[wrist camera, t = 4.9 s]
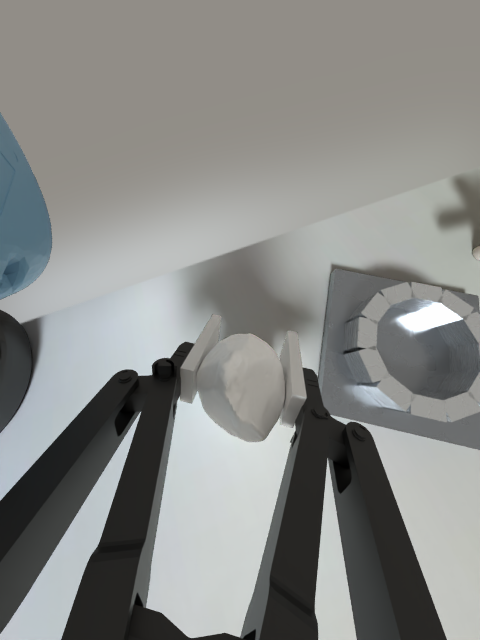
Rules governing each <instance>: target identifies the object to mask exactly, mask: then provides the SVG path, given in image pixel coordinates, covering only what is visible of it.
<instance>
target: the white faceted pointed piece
mask: <svg viewBox="0 0 480 640" xmlns="http://www.w3.org/2000/svg"><path fill="white" fill-rule="evenodd" d="M196 383H197V389H198V392H199V396H200V399H201V402H202V406H203V409H204V410H205V412H206V413H207V414H208V416H209V417H210V418H211V419H212V420H213V421H214V422H215V423H216V424H218V425H219V426H220V427H221V428H223V429H224V430H226V431H227V432H228V433H229V434H231V435H233V436H236V437H238V438H240V439H242V440H245V441H247V442H260V441H263V440H265V439H266V437H267V436H268V434H269V433H270V431H271V430H272V428H273V427H274V425H275V424H276V422H277V421H278V419H279V417H280V414H281V412H282V409H283V405H284V401H285V380H284V373H283V369H282V365H281V362H280V360H279V358H278V356H277V354H276V352H275V351H274V349H273V348H271V346H270V345H268V344H267V343H266V342H265V341H263V340H262V339H260V338H258V337H257V336H255V335H253V334H250V333H248V334H234V335H231V336H229V337H227V338H225V339H223V340H222V341H220V342H219V343H217V344H216V345H215V346H214V347H213V349H212V350H211V351H210V352H209V353H208V354H207V355H206V357H205V358H204V359H203V361H202V363H201V365H200V367H199V369H198V371H197V376H196Z"/></svg>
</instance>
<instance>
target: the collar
mask: <svg viewBox="0 0 480 640" xmlns="http://www.w3.org/2000/svg"><path fill="white" fill-rule="evenodd" d="M318 383H319V388H320V392H321V396H322V401H323V405H324V407H325V408H326V409H327V410H328V412H329V413H330V415H334V416H339V417H343V418H347V419H351V420H355V421H360V422H364V423H368V424H372V425H377V426H381V427H385V428H389V429H393V430H398V431H402V432H406V433H410V434H415V435H419V436H423V437H427V438H432V439H436V440H440V441H444V442H448V443H453V444H457V445H461V446H465V447H470V448H474V449H478V450H480V310H479V299H478V296H477V295H471V294H466V293H461V292H456V291H450V290H447V289H446V290H445V289H442V287H437V286H432V285H426V284H421V283H416V282H410V283H408V282H403V281H398V280H393V279H387V278H382V277H377V276H372V275H366V274H361V273H356V272H351V271H345V270H340V269H335V270H334V271H333V272H332V273H331V276H330V284H329V292H328V301H327V309H326V318H325V326H324V334H323V343H322V351H321V360H320V368H319V377H318Z"/></svg>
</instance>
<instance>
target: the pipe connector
mask: <svg viewBox="0 0 480 640" xmlns="http://www.w3.org/2000/svg"><path fill="white" fill-rule="evenodd" d="M473 256H474V257H475V258H476V259H477V260H479V261H480V246H478V247H476V248H474V249H473Z"/></svg>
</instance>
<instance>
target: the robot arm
mask: <svg viewBox="0 0 480 640" xmlns="http://www.w3.org/2000/svg"><path fill="white" fill-rule="evenodd" d="M51 248H52V233H51V223H50V218H49V214H48V211H47V207H46V204H45V201H44V198H43V195H42V193H41V190H40V188H39V186H38V183H37V180H36V178H35V176H34V174H33V172H32V170H31V167H30V165H29V163H28V162H27V159H26V157H25V155H24V153H23V151H22V149H21V148H20V146H19V144H18V142H17V140H16V139H15V137H14V135H13V133H12V131H11V130H10V128H9V126H8V124H7V123H6V121H5V120H4V118H3V116H2V115H1V113H0V299H3V298H5V297H7V296H10V295H12V294H14V293H16V292H18V291H20V290H22V289H24V288H26V287H27V286H29V285H30V284H31V283H33V282H34V281H35V280H36V279H37V278H38V277H39V276H40V275H41V273H42V272H43V271H44V269H45V267H46V265H47V263H48V260H49V258H50V253H51ZM221 317H222V316H218V315H214V314H212V316H211V318H210V319H209V321H208V323H207V324H206V326H205V328H204V329H203V331H202V333H201V334H200V336H199V338H198V339H197V341H196V343H195V344H193V343H189V342H184V343H183V344H181V345H179V347H178V348H177V350H176V351H175V353H174V354H173V355H172V357H171V358H162V359H159V360H157V361H155V362H154V363H153V365H152V373H153V375H150V376H138V373H137V372H136V371H134V370H122V371H120V372H117V373H116V374H115V375H114V376H113V377H112V378H111V379H110V380H109V381H108V382H107V383H106V384H105V386H104V387H103V388H102V389H101V390H100V391H99V392H98V393H97V394H96V396H95V397H94V398H93V399H92V400H91V401H90V402H89V403H88V404H87V406H86V407H85V408H84V409H83V410H82V411H81V412H80V413H79V414H78V415H77V417H76V418H75V419H74V420H73V421H72V422H71V423H70V424H69V425H68V427H67V428H66V429H65V430H64V431H63V432H62V433H61V434H60V435H59V437H58V438H57V439H56V440H55V441H54V442H53V443H52V444H51V445H50V446H49V448H48V449H47V450H46V451H45V452H44V453H43V454H42V455H41V456H40V458H39V459H38V460H37V461H36V462H35V463H34V464H33V465H32V466H31V468H30V469H29V470H28V471H27V472H26V473H25V474H24V475H23V476H22V477H21V479H20V480H19V481H18V482H17V483H16V484H15V485H14V486H13V487H12V489H11V490H10V491H9V492H8V493H7V494H6V495H5V496H4V497H3V499H2V500H1V501H0V633H1V632H2V631H3V629H4V628H5V627H6V625H7V624H8V623H9V621H10V620H11V618H12V616H13V615H14V613H15V612H16V610H17V609H18V607H19V606H20V604H21V603H22V601H23V600H24V598H25V597H26V595H27V594H28V592H29V590H30V589H31V587H32V586H33V584H34V582H35V581H36V579H37V577H38V576H39V574H40V573H41V571H42V569H43V568H44V566H45V565H46V563H47V561H48V560H49V558H50V556H51V555H52V553H53V552H54V550H55V548H56V547H57V545H58V544H59V542H60V540H61V539H62V537H63V535H64V534H65V532H66V531H67V529H68V527H69V526H70V524H71V523H72V521H73V519H74V518H75V516H76V514H77V513H78V511H79V510H80V508H81V506H82V505H83V503H84V502H85V500H86V498H87V497H88V495H89V493H90V492H91V490H92V489H93V487H94V485H95V484H96V482H97V481H98V479H99V477H100V476H101V474H102V472H103V471H104V469H105V468H106V466H107V464H108V463H109V461H110V460H111V458H112V456H113V455H114V453H115V451H116V450H117V448H118V447H119V445H120V443H121V442H122V440H123V439H124V437H125V435H126V434H127V432H128V430H129V429H130V427H131V426H132V424H133V422H134V421H135V419H136V418H137V416H138V414H139V413H140V412H141V411H142V412H141V415H140V418H139V421H138V424H137V427H136V430H135V434H134V437H133V440H132V443H131V446H130V449H129V452H128V455H127V458H126V462H125V465H124V468H123V471H122V474H121V477H120V480H119V483H118V487H117V490H116V493H115V496H114V499H113V502H112V505H111V508H110V512H109V515H108V518H107V521H106V524H105V527H104V530H103V533H102V537H101V539H100V542H99V544H98V547H97V548H96V550H95V551H94V552H93V554H92V555H91V557H90V559H89V561H88V563H87V566H86V568H85V571H84V574H83V576H82V579H81V582H80V585H79V588H78V591H77V594H76V597H75V600H74V603H73V606H72V609H71V612H70V615H69V618H68V621H67V624H66V627H65V630H64V633H63V636H62V639H61V640H318V623H317V619H316V615H315V592H316V581H317V569H318V558H319V547H320V535H321V524H322V512H323V501H324V490H325V478H326V467H327V458H328V461H329V467H330V473H331V479H332V486H333V492H334V498H335V505H336V511H337V517H338V523H339V530H340V536H341V542H342V548H343V555H344V561H345V567H346V574H347V580H348V586H349V592H350V599H351V605H352V611H353V618H354V624H355V630H356V636H357V640H447V639H446V636H445V633H444V631H443V628H442V625H441V622H440V620H439V617H438V614H437V611H436V609H435V606H434V603H433V601H432V598H431V595H430V592H429V590H428V587H427V584H426V581H425V579H424V576H423V573H422V571H421V568H420V565H419V562H418V560H417V557H416V554H415V551H414V549H413V546H412V543H411V541H410V538H409V535H408V532H407V530H406V527H405V524H404V521H403V519H402V516H401V513H400V511H399V508H398V505H397V502H396V500H395V497H394V494H393V491H392V489H391V486H390V483H389V481H388V478H387V475H386V472H385V470H384V467H383V464H382V461H381V459H380V456H379V453H378V451H377V448H376V445H375V442H374V440H373V437H372V435H371V433H370V432H369V431H368V430H367V429H366V428H365V427H364V426H362V425H361V424H359V423H356V422H349V423H348V424H347V425H345V424H343V423H341V422H339V421H337V420H335V419H334V418H332V417H331V416H330V413H329V412H328V410H327V409H326V408H325V407H324V405H323V401H322V396H321V392H320V388H319V383H318V378H317V375H316V374H315V372H314V371H313V370H311V369H307V368H302V361H301V355H300V348H299V341H298V334H297V332H294V331H289V330H288V332H287V335H286V338H285V341H284V344H283V347H282V351H281V354H280V362H281V365H282V369H283V373H284V380H285V401H284V405H283V409H282V412H281V414H280V425H282V426H286V427H290V428H293V426H294V424H295V426H296V431H295V433H294V435H293V437H292V439H291V441H290V443H291V447H290V451H289V455H288V459H287V462H286V466H285V470H284V474H283V478H282V482H281V486H280V490H279V494H278V498H277V502H276V506H275V510H274V514H273V518H272V522H271V526H270V530H269V534H268V538H267V542H266V546H265V550H264V554H263V558H262V562H261V565H260V569H259V573H258V577H257V581H256V585H255V589H254V593H253V596H252V599H251V602H250V605H249V607H248V611H247V614H246V617H245V621H244V625H243V629H242V632H241V636H240V638H239V637H236V636H233V635H230V634H227V633H222V634H216V635H210V636H204V637H198V638H189V637H187V636H186V635H185V634H184V633H183V632H182V631H181V630H179V629H178V628H177V627H176V626H175V625H174V624H173V623H172V622H171V621H170V620H169V619H167V618H166V617H165V616H164V615H163V614H162V613H160V612H157V611H154V610H150V609H147V608H146V603H147V596H148V590H149V582H150V572H151V562H152V556H153V549H154V543H155V537H156V531H157V525H158V519H159V513H160V506H161V500H162V494H163V488H164V482H165V476H166V470H167V463H168V457H169V451H170V445H171V439H172V433H173V427H174V420H175V414H176V408H177V400H178V398H179V396H180V401H183V402H187V403H191V404H192V402H193V400H194V397H195V395H196V393H197V391H198V389H197V383H196V376H197V371H198V369H199V367H200V365H201V363H202V361H203V359H204V358H205V357H206V355H207V354H208V353H209V352H210V351H211V350H212V349H213V347H214V346H215V345H216V344H217V343H218V341H219V333H220V325H221ZM31 366H32V354H31V347H30V343H29V340H28V337H27V335H26V332H25V331H24V329H23V327H22V326H21V325H20V324H19V322H18V321H16V320H15V319H14V318H13V317H12V316H10V315H9V314H7V313H6V312H4V311H1V310H0V432H1V431H2V430H3V428H4V427H5V426H6V425H7V423H8V422H9V421H10V419H11V418H12V417H13V415H14V414H15V412H16V410H17V409H18V407H19V405H20V403H21V401H22V399H23V397H24V394H25V392H26V389H27V386H28V383H29V379H30V374H31Z"/></svg>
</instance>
